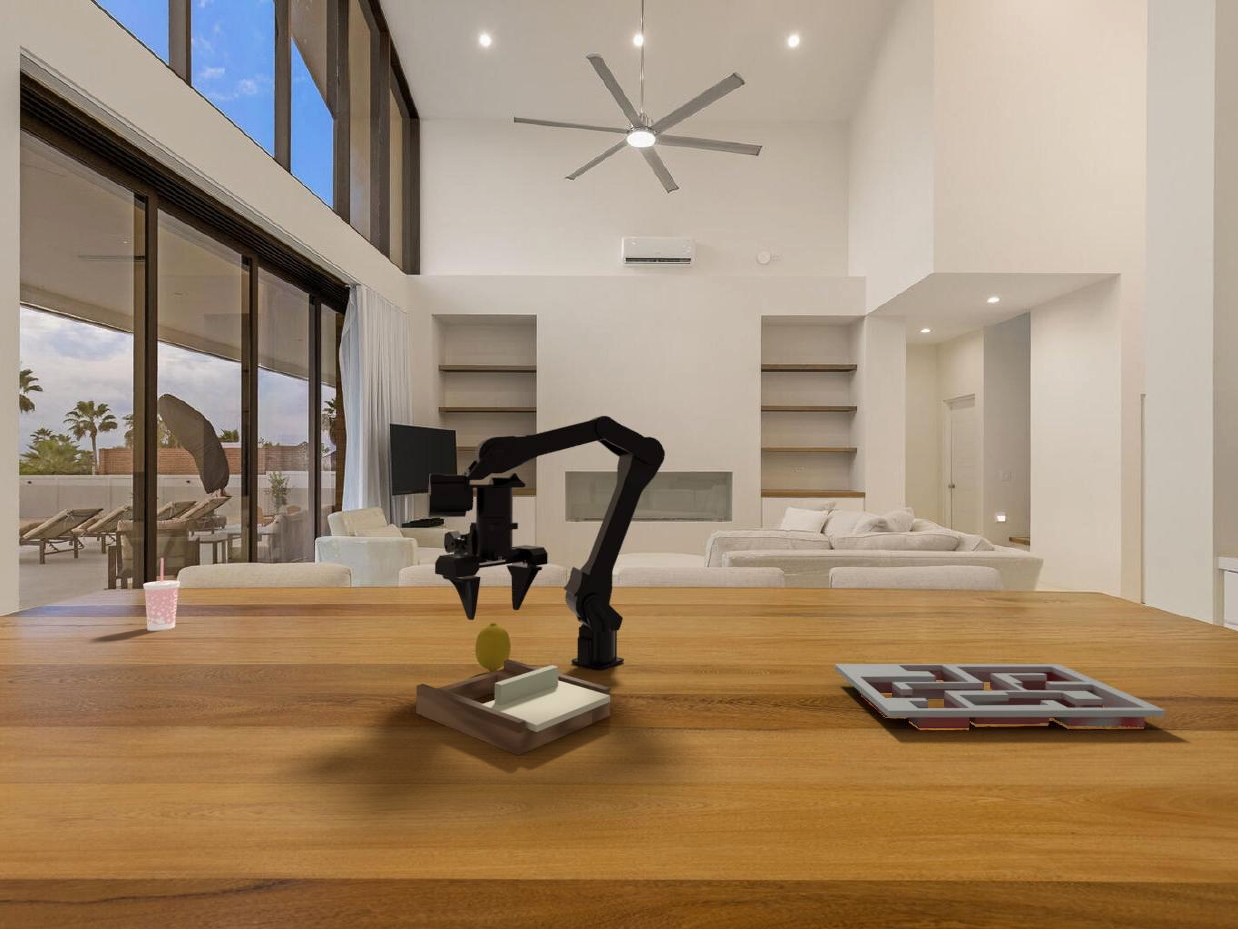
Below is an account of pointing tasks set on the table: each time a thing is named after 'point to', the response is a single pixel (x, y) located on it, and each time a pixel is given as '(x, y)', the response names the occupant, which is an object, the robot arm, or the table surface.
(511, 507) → the robot arm
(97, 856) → the table surface
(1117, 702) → the maze game
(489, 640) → the lemon
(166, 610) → the beverage cup
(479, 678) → the sliding lid box
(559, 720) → the cover
